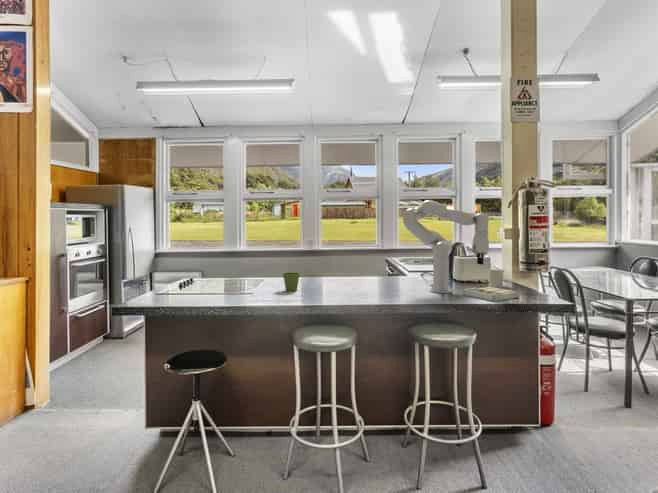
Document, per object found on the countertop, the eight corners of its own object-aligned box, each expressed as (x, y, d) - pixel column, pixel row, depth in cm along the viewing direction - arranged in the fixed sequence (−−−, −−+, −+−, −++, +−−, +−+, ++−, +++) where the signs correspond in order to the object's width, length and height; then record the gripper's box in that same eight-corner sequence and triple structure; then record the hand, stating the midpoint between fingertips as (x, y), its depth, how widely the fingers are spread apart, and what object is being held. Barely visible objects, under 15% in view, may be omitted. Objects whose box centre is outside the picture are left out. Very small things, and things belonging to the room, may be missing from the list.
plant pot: (302, 291, 262) (302, 274, 261) (284, 292, 259) (284, 275, 258) (298, 288, 273) (298, 271, 273) (280, 289, 270) (280, 272, 269)
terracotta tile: (492, 293, 239) (492, 297, 239) (486, 294, 236) (486, 298, 236) (499, 294, 234) (499, 299, 234) (494, 295, 232) (493, 300, 232)
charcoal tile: (474, 289, 250) (474, 293, 250) (468, 290, 247) (468, 294, 248) (480, 291, 245) (480, 295, 246) (475, 291, 243) (474, 296, 243)
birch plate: (477, 293, 253) (477, 288, 253) (489, 291, 259) (489, 287, 259) (505, 299, 236) (505, 294, 236) (517, 297, 241) (517, 292, 241)
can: (493, 287, 273) (494, 269, 272) (485, 285, 282) (486, 267, 281) (506, 287, 275) (506, 269, 274) (497, 284, 284) (498, 267, 283)
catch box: (463, 295, 249) (463, 289, 249) (475, 293, 254) (475, 287, 254) (493, 301, 230) (493, 295, 230) (506, 299, 235) (506, 293, 235)
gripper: (484, 233, 253) (483, 262, 254) (467, 233, 245) (466, 264, 247) (494, 233, 246) (493, 264, 248) (477, 234, 239) (476, 265, 240)
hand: (480, 264), depth 247 cm, fingers closed
